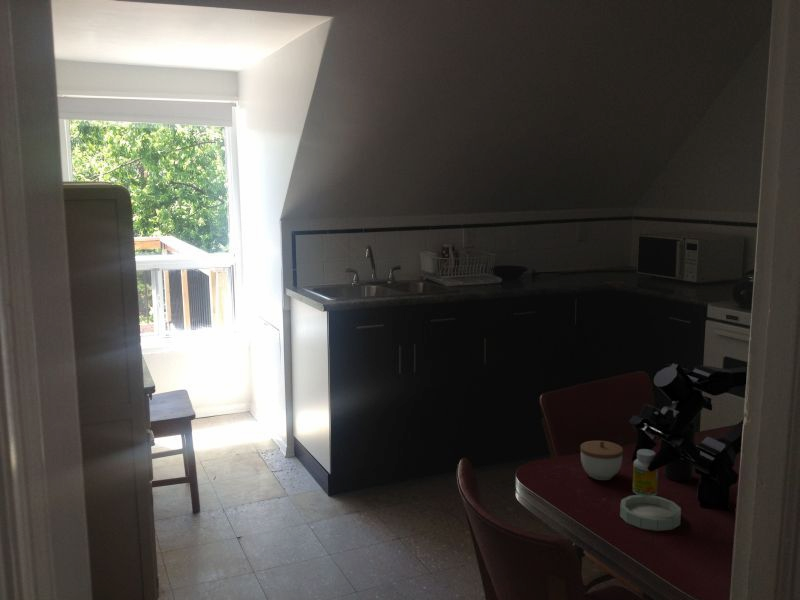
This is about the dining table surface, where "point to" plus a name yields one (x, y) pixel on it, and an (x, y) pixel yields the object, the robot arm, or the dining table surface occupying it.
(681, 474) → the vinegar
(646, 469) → the supplement bottle
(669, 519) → the bowl
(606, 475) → the lidded jar
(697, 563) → the dining table surface
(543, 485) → the dining table surface
